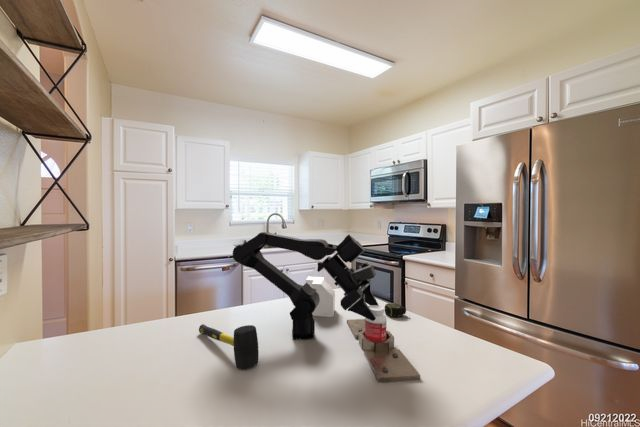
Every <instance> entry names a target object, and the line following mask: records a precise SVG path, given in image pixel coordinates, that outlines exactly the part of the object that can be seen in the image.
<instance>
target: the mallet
mask: <svg viewBox="0 0 640 427" xmlns="http://www.w3.org/2000/svg"><path fill="white" fill-rule="evenodd" d="M198 332H199V333H200V334H201V335H204V336H207V337H209V338H210V339H213V340H216V341H219V342H222V343H225V344H228V345H231V346H232V347H233V355H234V362H235V366H236V369H238V370H248V369H252V368H253V367H255V366H257V364H259V357H260V356H259V355H260V354H259V353H260V351H259V341H258V340H259V338H258V333H257V327H256V326H255V325H254V324H253V325H250V324H248V325H243V326H242V325H241V326H239V327H237V328H234V331H233V337H232V336H231V335H229V334H226V333H224V332H223V331H220V330H218V329H215V328H213V327H210V326H207V325H205V324H204V323H202V324H200V326H199V327H198Z"/></svg>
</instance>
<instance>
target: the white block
mask: <svg viewBox="0 0 640 427" xmlns="http://www.w3.org/2000/svg"><path fill="white" fill-rule="evenodd" d="M305 283H308V284H309V285H310V286H311V287H312V288H313V289H316V292H317V293H318V295H319V298H320V302H319V304H318V306H317V307H316V309H315V310H314V312H313V313H312V315H313V317H327V318H334V314H335V311H336V310H335V308H336V307H335V304H336V303H335V302H336V298H335V297H336V294H335V292H336V291H335V290H334V289H333V287H331V286H330V285H329V284H328V282H326V280H325V277H323V276H307V278H306V279H305Z"/></svg>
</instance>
